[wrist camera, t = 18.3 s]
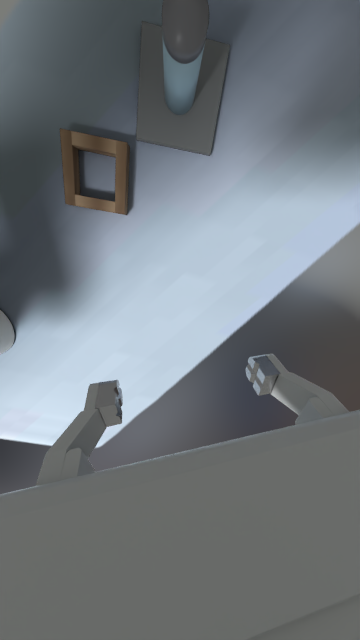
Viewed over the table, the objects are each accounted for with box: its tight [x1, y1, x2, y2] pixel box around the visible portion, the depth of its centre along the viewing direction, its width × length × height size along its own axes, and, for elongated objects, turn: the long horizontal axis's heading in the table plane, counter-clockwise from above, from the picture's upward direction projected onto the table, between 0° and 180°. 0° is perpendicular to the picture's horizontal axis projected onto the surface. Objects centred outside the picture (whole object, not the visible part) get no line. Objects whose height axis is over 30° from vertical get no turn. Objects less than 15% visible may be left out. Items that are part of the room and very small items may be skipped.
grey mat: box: [136, 21, 230, 156], centre depth 27 cm, size 11×11×1 cm
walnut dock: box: [60, 129, 130, 215], centre depth 30 cm, size 9×9×2 cm
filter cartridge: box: [162, 0, 209, 115], centre depth 22 cm, size 4×4×11 cm
